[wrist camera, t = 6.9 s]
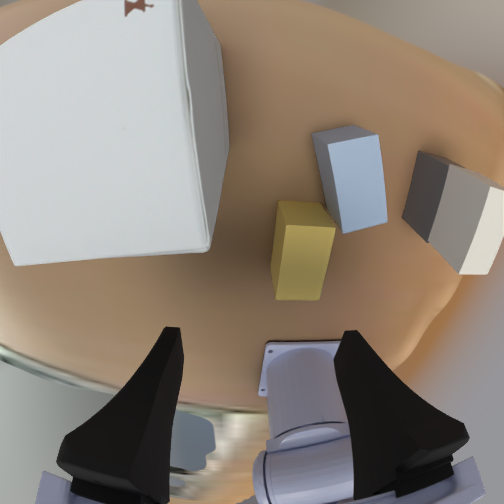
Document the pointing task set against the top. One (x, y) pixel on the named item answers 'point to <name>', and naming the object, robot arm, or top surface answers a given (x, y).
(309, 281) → the mustard brick
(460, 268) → the light grey brick
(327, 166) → the blue brick
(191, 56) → the supplement box
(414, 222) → the charcoal brick
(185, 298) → the top surface
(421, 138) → the top surface
